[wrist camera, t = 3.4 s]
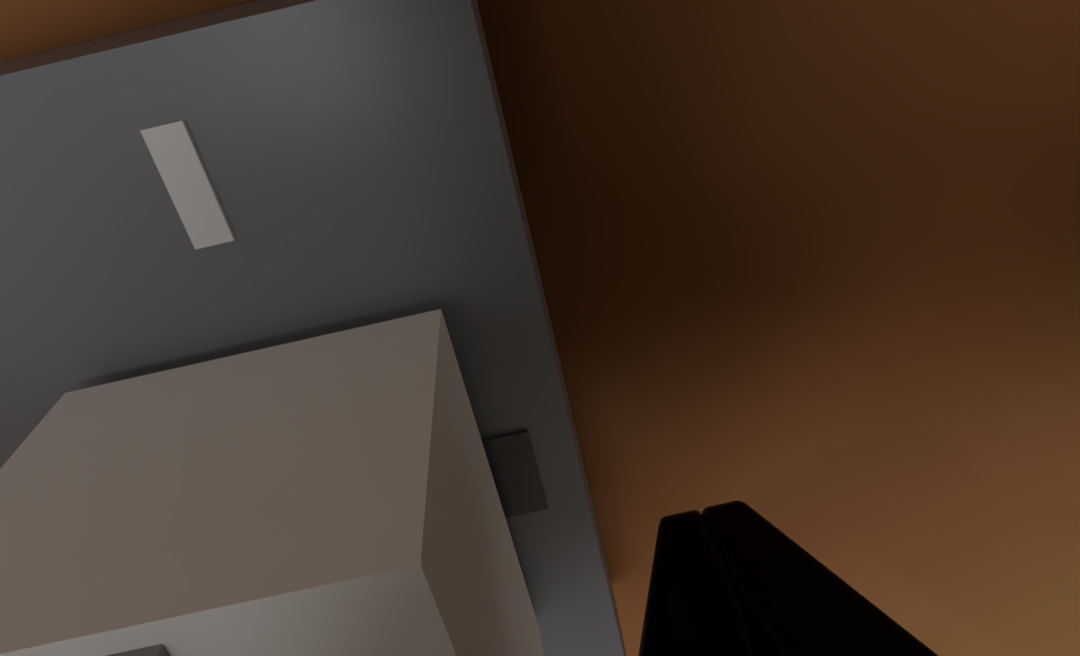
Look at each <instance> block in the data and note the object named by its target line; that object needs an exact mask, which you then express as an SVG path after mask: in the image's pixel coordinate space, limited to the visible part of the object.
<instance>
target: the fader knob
mask: <svg viewBox="0 0 1080 656" xmlns="http://www.w3.org/2000/svg"><path fill="white" fill-rule="evenodd" d="M0 656H543V646H542V635H541V632H540V629H539V625H538V622H537V619H536V616H535V612H534V609H533V606H532V603H531V599H530V596H529V593H528V590H527V586H526V583H525V580H524V577H523V573H522V570H521V567H520V564H519V560H518V557H517V554H516V551H515V547H514V544H513V541H512V538H511V534H510V531H509V528H508V525H507V521H506V518H505V515H504V512H503V508H502V505H501V502H500V499H499V495H498V492H497V489H496V486H495V482H494V479H493V476H492V473H491V469H490V466H489V463H488V460H487V456H486V453H485V450H484V447H483V443H482V440H481V437H480V434H479V430H478V427H477V424H476V421H475V417H474V414H473V411H472V408H471V404H470V401H469V398H468V395H467V391H466V388H465V385H464V382H463V378H462V375H461V372H460V369H459V365H458V362H457V359H456V356H455V352H454V349H453V346H452V343H451V339H450V336H449V333H448V330H447V326H446V323H445V320H444V317H443V313H442V310H441V309H438V310H434V311H429V312H425V313H420V314H416V315H411V316H407V317H402V318H398V319H393V320H389V321H385V322H380V323H376V324H371V325H367V326H362V327H358V328H353V329H349V330H344V331H340V332H335V333H331V334H326V335H322V336H317V337H313V338H308V339H304V340H300V341H295V342H291V343H286V344H282V345H277V346H273V347H268V348H264V349H259V350H255V351H250V352H246V353H241V354H237V355H232V356H228V357H223V358H219V359H215V360H210V361H206V362H201V363H197V364H192V365H188V366H183V367H179V368H174V369H170V370H165V371H161V372H156V373H152V374H147V375H143V376H139V377H134V378H130V379H125V380H121V381H116V382H112V383H107V384H103V385H98V386H94V387H89V388H85V389H80V390H76V391H71V392H67V393H64V395H63V396H62V397H61V398H60V399H59V400H58V402H57V403H56V404H55V405H54V406H53V407H52V409H51V410H50V411H49V412H48V413H47V414H46V416H45V417H44V418H43V419H42V420H41V422H40V423H39V424H38V425H37V426H36V427H35V429H34V430H33V431H32V432H31V433H30V434H29V436H28V437H27V438H26V439H25V440H24V441H23V443H22V444H21V445H20V446H19V447H18V449H17V450H16V451H15V452H14V453H13V454H12V456H11V457H10V458H9V459H8V460H7V461H6V463H5V464H4V465H3V466H2V467H1V468H0Z"/></svg>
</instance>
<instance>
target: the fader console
mask: <svg viewBox="0 0 1080 656" xmlns="http://www.w3.org/2000/svg"><path fill="white" fill-rule="evenodd" d="M438 309H441V310H442V313H443V317H444V320H445V323H446V326H447V330H448V333H449V336H450V339H451V343H452V346H453V349H454V352H455V356H456V359H457V362H458V365H459V369H460V372H461V375H462V378H463V382H464V385H465V388H466V391H467V395H468V398H469V401H470V404H471V408H472V411H473V414H474V417H475V421H476V424H477V427H478V430H479V434H480V437H481V440H482V443H483V447H484V450H485V453H486V456H487V460H488V463H489V466H490V469H491V473H492V476H493V479H494V482H495V486H496V489H497V492H498V495H499V499H500V502H501V505H502V508H503V512H504V515H505V518H506V521H507V525H508V528H509V531H510V534H511V538H512V541H513V544H514V547H515V551H516V554H517V557H518V560H519V564H520V567H521V570H522V573H523V577H524V580H525V583H526V586H527V590H528V593H529V596H530V599H531V603H532V606H533V609H534V612H535V616H536V619H537V622H538V625H539V629H540V632H541V635H542V646H543V656H626V651H625V646H624V641H623V637H622V632H621V627H620V622H619V617H618V612H617V608H616V603H615V598H614V593H613V588H612V584H611V579H610V575H609V571H608V566H607V562H606V558H605V553H604V549H603V545H602V540H601V536H600V532H599V527H598V523H597V519H596V514H595V510H594V506H593V501H592V497H591V493H590V488H589V484H588V480H587V475H586V471H585V467H584V462H583V458H582V454H581V449H580V445H579V441H578V436H577V432H576V428H575V423H574V419H573V415H572V410H571V406H570V402H569V397H568V393H567V389H566V384H565V380H564V376H563V371H562V367H561V363H560V358H559V354H558V350H557V345H556V341H555V337H554V332H553V328H552V324H551V319H550V315H549V311H548V306H547V302H546V298H545V293H544V289H543V285H542V280H541V276H540V272H539V267H538V263H537V259H536V254H535V250H534V246H533V241H532V237H531V233H530V228H529V224H528V220H527V215H526V211H525V207H524V202H523V198H522V194H521V189H520V185H519V181H518V176H517V172H516V168H515V163H514V159H513V155H512V150H511V146H510V142H509V137H508V133H507V129H506V124H505V120H504V116H503V111H502V107H501V103H500V98H499V94H498V90H497V85H496V81H495V77H494V72H493V68H492V64H491V59H490V55H489V51H488V46H487V42H486V38H485V33H484V29H483V25H482V20H481V16H480V12H479V7H478V3H477V0H258V1H254V2H250V3H245V4H241V5H237V6H233V7H229V8H224V9H220V10H216V11H212V12H208V13H204V14H199V15H195V16H191V17H187V18H183V19H178V20H174V21H170V22H166V23H162V24H157V25H153V26H149V27H145V28H141V29H136V30H132V31H128V32H124V33H120V34H115V35H111V36H107V37H103V38H99V39H94V40H90V41H86V42H82V43H78V44H73V45H69V46H65V47H61V48H57V49H53V50H48V51H44V52H40V53H36V54H32V55H27V56H23V57H19V58H15V59H11V60H6V61H2V62H0V468H1V467H2V466H3V465H4V464H5V463H6V461H7V460H8V459H9V458H10V457H11V456H12V454H13V453H14V452H15V451H16V450H17V449H18V447H19V446H20V445H21V444H22V443H23V441H24V440H25V439H26V438H27V437H28V436H29V434H30V433H31V432H32V431H33V430H34V429H35V427H36V426H37V425H38V424H39V423H40V422H41V420H42V419H43V418H44V417H45V416H46V414H47V413H48V412H49V411H50V410H51V409H52V407H53V406H54V405H55V404H56V403H57V402H58V400H59V399H60V398H61V397H62V396H63V395H64V393H67V392H71V391H76V390H80V389H85V388H89V387H94V386H98V385H103V384H107V383H112V382H116V381H121V380H125V379H130V378H134V377H139V376H143V375H147V374H152V373H156V372H161V371H165V370H170V369H174V368H179V367H183V366H188V365H192V364H197V363H201V362H206V361H210V360H215V359H219V358H223V357H228V356H232V355H237V354H241V353H246V352H250V351H255V350H259V349H264V348H268V347H273V346H277V345H282V344H286V343H291V342H295V341H300V340H304V339H308V338H313V337H317V336H322V335H326V334H331V333H335V332H340V331H344V330H349V329H353V328H358V327H362V326H367V325H371V324H376V323H380V322H385V321H389V320H393V319H398V318H402V317H407V316H411V315H416V314H420V313H425V312H429V311H434V310H438Z"/></svg>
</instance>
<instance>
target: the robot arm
mask: <svg viewBox="0 0 1080 656" xmlns="http://www.w3.org/2000/svg"><path fill="white" fill-rule="evenodd" d="M639 656H938V655H937V654H935V653H934V652H933V651H932V650H930V649H929V648H928V647H927V646H925V645H924V644H923V643H922V642H920V641H919V640H918V639H917V638H915V637H914V636H913V635H911V634H910V633H909V632H908V631H906V630H905V629H904V628H903V627H901V626H900V625H899V624H898V623H896V622H895V621H894V620H892V619H891V618H890V617H889V616H887V615H886V614H885V613H884V612H882V611H881V610H880V609H879V608H877V607H876V606H875V605H874V604H872V603H871V602H870V601H868V600H867V599H866V598H865V597H863V596H862V595H861V594H860V593H858V592H857V591H856V590H855V589H853V588H852V587H851V586H849V585H848V584H847V583H846V582H844V581H843V580H842V579H841V578H839V577H838V576H837V575H836V574H834V573H833V572H832V571H831V570H829V569H828V568H827V567H825V566H824V565H823V564H822V563H820V562H819V561H818V560H817V559H815V558H814V557H813V556H812V555H810V554H809V553H808V552H806V551H805V550H804V549H803V548H801V547H800V546H799V545H798V544H796V543H795V542H794V541H793V540H791V539H790V538H789V537H788V536H786V535H785V534H784V533H782V532H781V531H780V530H779V529H777V528H776V527H775V526H774V525H772V524H771V523H770V522H769V521H767V520H766V519H765V518H763V517H762V516H761V515H760V514H758V513H757V512H756V511H755V510H753V509H752V508H751V507H750V506H748V505H747V504H746V503H744V502H741V501H733V502H728V503H724V504H719V505H715V506H710V507H707V508H705V509H704V510H703V512H702V514H701V513H700V512H699V511H696V510H692V511H687V512H682V513H678V514H673V515H669V516H665V517H663V518H662V519H661V521H660V523H659V527H658V534H657V540H656V546H655V553H654V559H653V566H652V572H651V579H650V585H649V591H648V598H647V604H646V611H645V617H644V624H643V630H642V636H641V643H640V649H639Z"/></svg>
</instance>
